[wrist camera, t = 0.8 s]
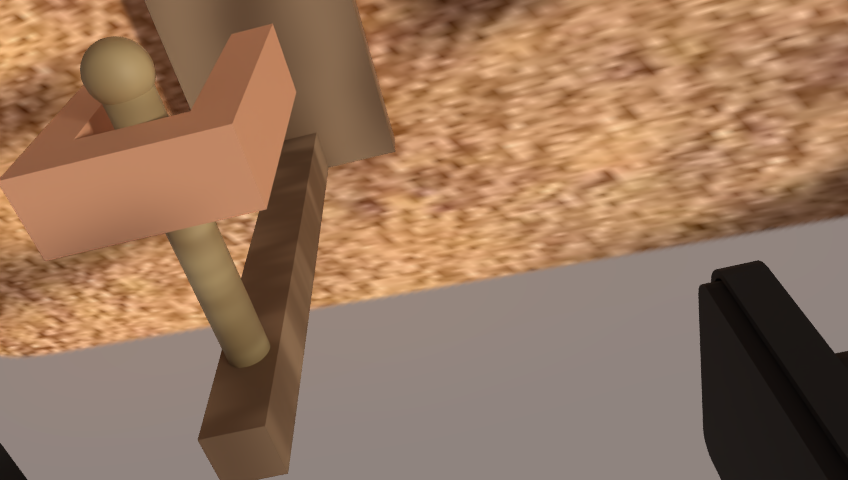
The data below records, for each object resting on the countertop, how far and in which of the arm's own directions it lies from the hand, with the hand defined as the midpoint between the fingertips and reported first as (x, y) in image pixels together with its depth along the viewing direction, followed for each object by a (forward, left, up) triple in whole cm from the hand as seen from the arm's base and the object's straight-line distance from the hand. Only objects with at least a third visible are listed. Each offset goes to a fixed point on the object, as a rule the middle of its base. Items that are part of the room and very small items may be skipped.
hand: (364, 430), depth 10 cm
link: (+6, 0, -18) cm, 19 cm away
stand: (+6, +3, -30) cm, 31 cm away
